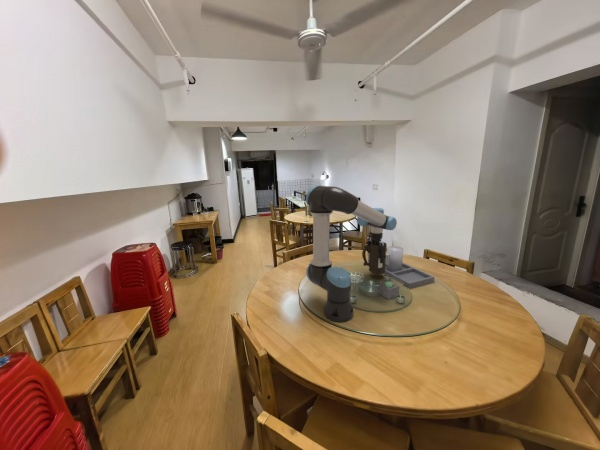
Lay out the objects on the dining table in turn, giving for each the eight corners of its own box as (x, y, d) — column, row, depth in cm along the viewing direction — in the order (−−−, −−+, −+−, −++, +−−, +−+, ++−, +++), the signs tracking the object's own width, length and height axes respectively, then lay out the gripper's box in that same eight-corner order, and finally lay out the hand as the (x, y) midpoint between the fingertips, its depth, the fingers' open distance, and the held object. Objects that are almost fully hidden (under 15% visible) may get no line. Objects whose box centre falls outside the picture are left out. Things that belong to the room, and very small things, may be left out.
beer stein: (383, 267, 161) (383, 239, 157) (389, 274, 151) (389, 244, 146) (361, 269, 162) (360, 241, 157) (365, 275, 151) (364, 246, 147)
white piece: (405, 271, 164) (406, 249, 160) (390, 274, 160) (392, 252, 156) (394, 265, 174) (395, 245, 170) (380, 268, 169) (381, 247, 166)
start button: (393, 293, 135) (394, 283, 134) (388, 294, 134) (388, 285, 133) (388, 290, 139) (389, 281, 137) (383, 291, 137) (384, 282, 136)
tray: (434, 282, 149) (434, 277, 148) (409, 289, 142) (409, 283, 141) (396, 264, 179) (396, 259, 178) (374, 269, 171) (374, 264, 171)
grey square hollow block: (398, 296, 134) (399, 286, 133) (387, 299, 132) (388, 289, 130) (389, 289, 142) (389, 280, 140) (378, 292, 139) (378, 283, 138)
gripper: (393, 235, 141) (391, 269, 145) (370, 227, 161) (368, 258, 166) (383, 236, 138) (381, 271, 143) (361, 228, 159) (359, 259, 163)
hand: (374, 264), depth 154 cm, fingers closed on beer stein, 10 cm apart
